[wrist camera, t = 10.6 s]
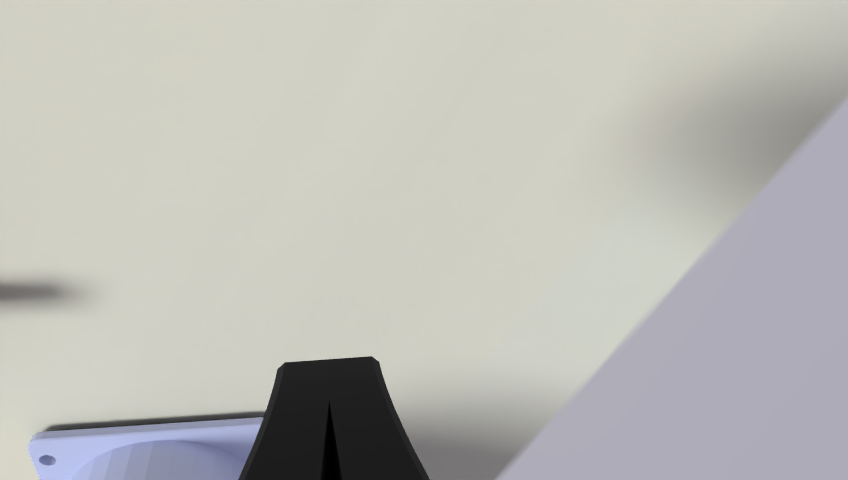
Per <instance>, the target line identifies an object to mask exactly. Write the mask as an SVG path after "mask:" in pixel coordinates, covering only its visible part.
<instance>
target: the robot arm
mask: <svg viewBox="0 0 848 480" xmlns="http://www.w3.org/2000/svg"><path fill="white" fill-rule="evenodd" d="M28 452H29V454H30V457H31V459H32V462H33V464H34V467H35V469H36V472H37V474H38V477H39V479H40V480H430V479H429V477H428V475H427V473H426V472H425V470H424V468H423V466H422V464H421V462H420V460H419V458H418V457H417V455H416V453H415V451H414V449H413V447H412V445H411V443H410V441H409V439H408V437H407V435H406V433H405V430H404V428H403V426H402V424H401V421H400V419H399V417H398V415H397V413H396V410H395V408H394V405H393V403H392V400H391V398H390V395H389V393H388V390H387V387H386V384H385V381H384V378H383V375H382V372H381V368H380V364H379V362H378V361H377V360H376V359H374V358H373V357H372V356H371V357H357V358H343V359H329V360H314V361H300V362H286V363H284V364H283V365H282V366H281V367H280V368H278V370H277V374H276V379H275V383H274V387H273V390H272V394H271V397H270V400H269V403H268V406H267V409H266V412H265V415H264V417H257V418H242V419H227V420H212V421H197V422H182V423H167V424H152V425H137V426H122V427H107V428H92V429H77V430H62V431H47V432H40V433H37V434H35V435H33V436H32V438H31V440H30V442H29V444H28ZM48 455H50V456H48Z"/></svg>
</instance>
